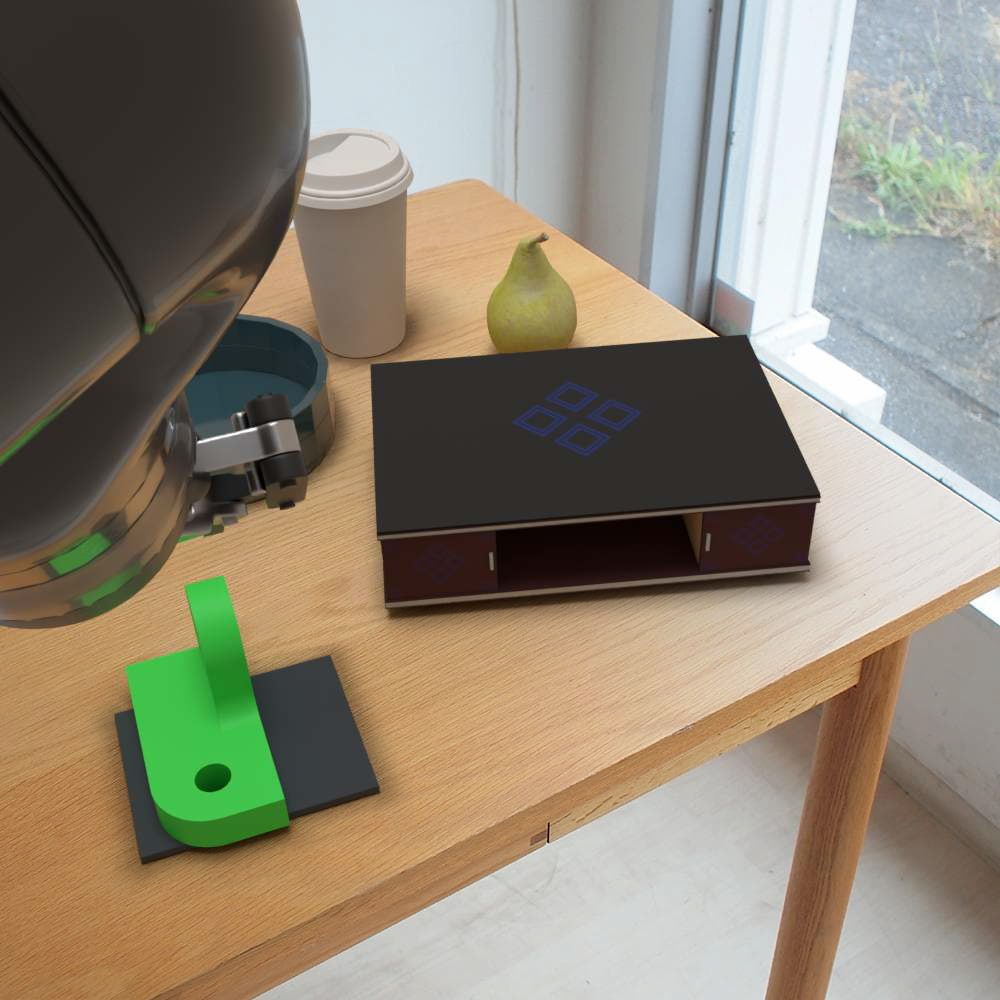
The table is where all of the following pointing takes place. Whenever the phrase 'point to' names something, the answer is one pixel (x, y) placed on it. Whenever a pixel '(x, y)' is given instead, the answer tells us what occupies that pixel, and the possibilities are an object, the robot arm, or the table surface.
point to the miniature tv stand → (584, 472)
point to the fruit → (531, 304)
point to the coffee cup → (355, 239)
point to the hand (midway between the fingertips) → (80, 535)
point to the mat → (273, 750)
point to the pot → (265, 382)
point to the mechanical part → (206, 732)
